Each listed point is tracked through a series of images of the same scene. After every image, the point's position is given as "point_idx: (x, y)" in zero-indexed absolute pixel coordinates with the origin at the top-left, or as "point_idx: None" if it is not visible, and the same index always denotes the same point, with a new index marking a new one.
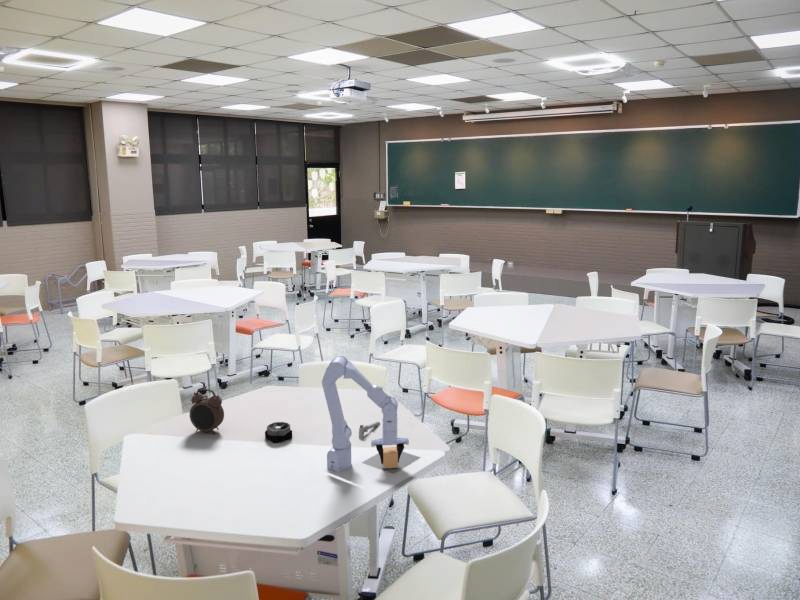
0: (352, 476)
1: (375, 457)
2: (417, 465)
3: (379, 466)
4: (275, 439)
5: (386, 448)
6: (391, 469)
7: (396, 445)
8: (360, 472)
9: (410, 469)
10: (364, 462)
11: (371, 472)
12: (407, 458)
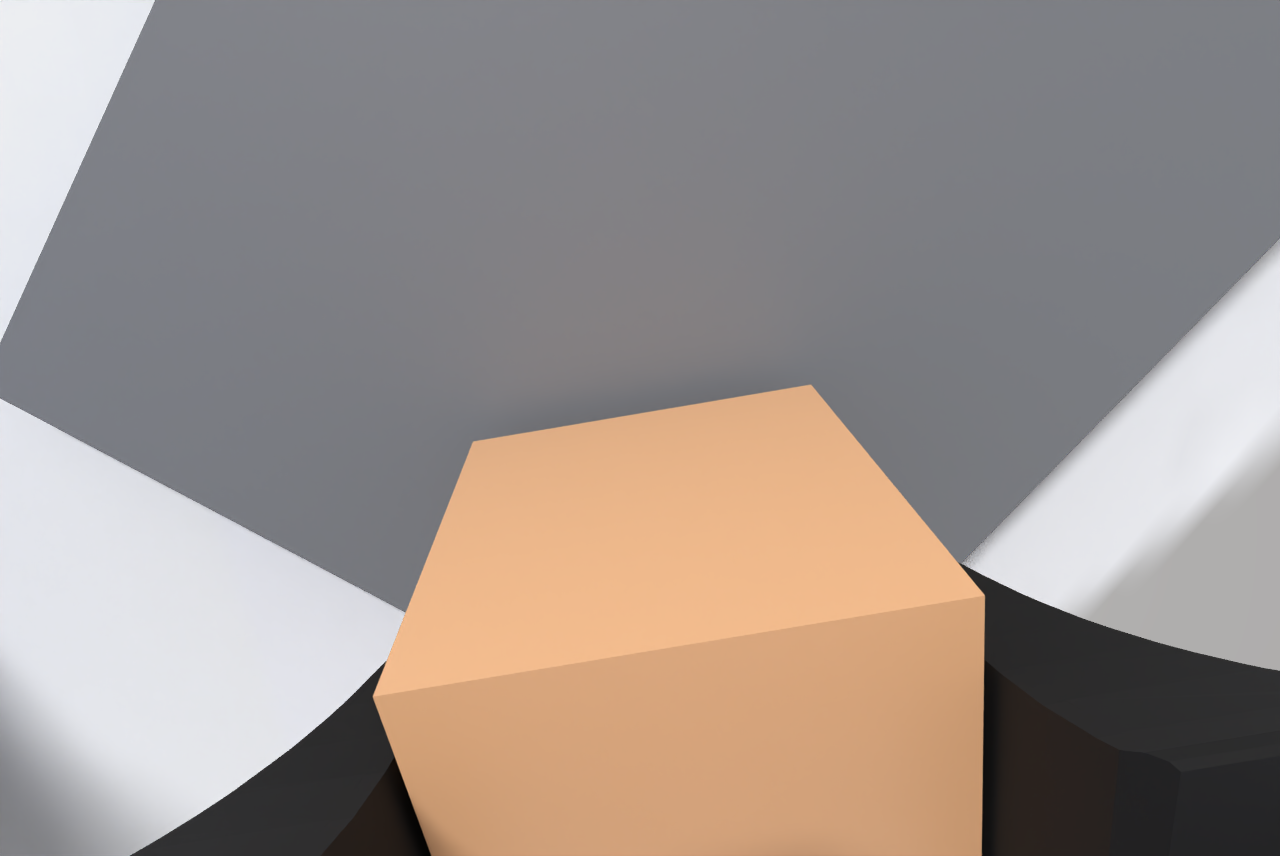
0: (26, 796)
1: (253, 79)
2: (1234, 347)
3: None
4: None
5: (579, 737)
6: None
7: (1051, 724)
8: (117, 668)
9: (1054, 516)
10: (48, 389)
11: (325, 657)
12: (1114, 121)
